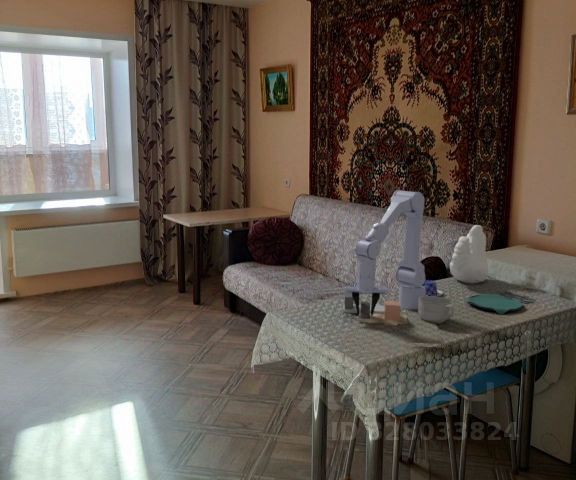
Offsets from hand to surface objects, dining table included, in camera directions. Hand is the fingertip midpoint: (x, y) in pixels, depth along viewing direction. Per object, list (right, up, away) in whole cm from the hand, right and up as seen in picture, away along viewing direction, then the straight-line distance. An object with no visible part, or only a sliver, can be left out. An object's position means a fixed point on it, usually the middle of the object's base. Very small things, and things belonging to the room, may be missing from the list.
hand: (365, 314), depth 198 cm
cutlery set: (+56, 0, +24) cm, 61 cm away
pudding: (+30, +3, +37) cm, 48 cm away
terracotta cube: (+9, -1, -1) cm, 9 cm away
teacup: (+25, -3, +1) cm, 25 cm away
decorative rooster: (+50, +7, +55) cm, 75 cm away
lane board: (+2, -2, +5) cm, 6 cm away
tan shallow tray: (+6, -2, 0) cm, 6 cm away
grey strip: (+2, 0, +10) cm, 10 cm away
